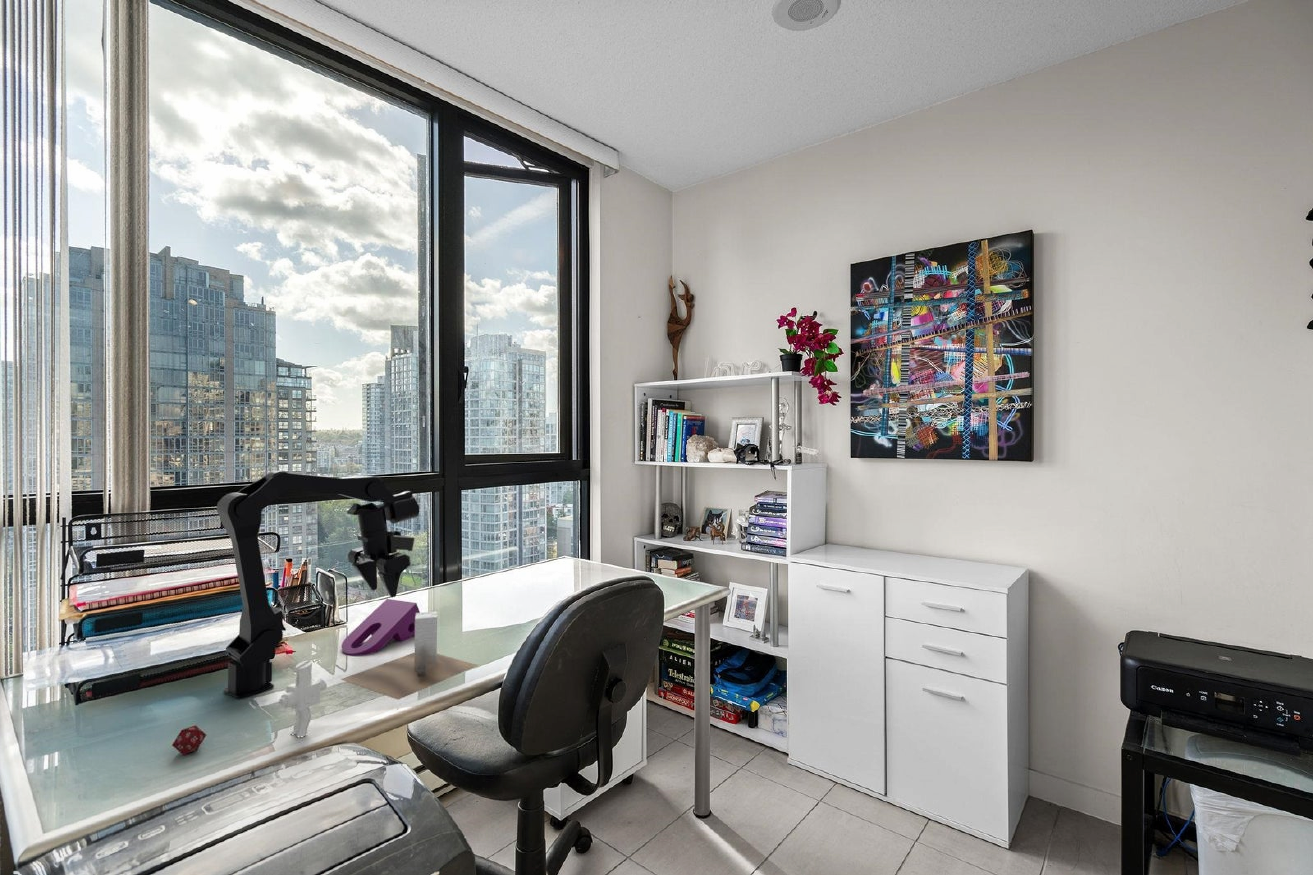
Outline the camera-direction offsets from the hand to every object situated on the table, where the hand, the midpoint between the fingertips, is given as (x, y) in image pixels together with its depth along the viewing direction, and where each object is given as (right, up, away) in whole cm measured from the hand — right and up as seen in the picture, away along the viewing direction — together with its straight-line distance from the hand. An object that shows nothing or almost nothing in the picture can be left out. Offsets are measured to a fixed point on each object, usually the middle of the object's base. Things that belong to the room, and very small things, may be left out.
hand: (383, 593), depth 140 cm
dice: (-11, -14, -44) cm, 48 cm away
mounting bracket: (-3, -15, +4) cm, 15 cm away
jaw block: (+14, -13, -10) cm, 22 cm away
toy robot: (+3, -14, -38) cm, 40 cm away
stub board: (+12, -14, -14) cm, 23 cm away
